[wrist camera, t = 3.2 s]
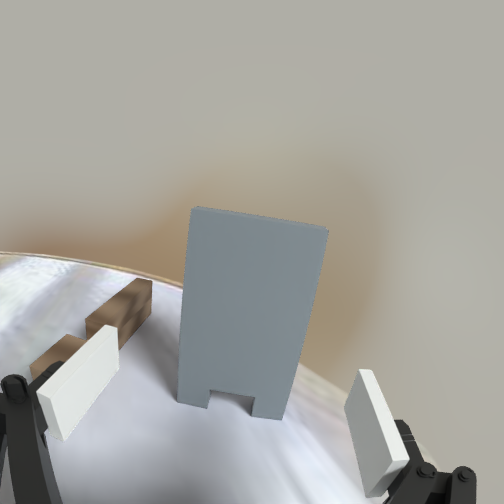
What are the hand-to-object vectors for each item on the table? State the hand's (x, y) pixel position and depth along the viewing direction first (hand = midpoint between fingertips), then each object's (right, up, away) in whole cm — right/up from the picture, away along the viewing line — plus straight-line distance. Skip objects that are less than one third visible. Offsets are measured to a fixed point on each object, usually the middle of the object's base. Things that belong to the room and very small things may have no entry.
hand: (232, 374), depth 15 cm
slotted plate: (-1, -8, +12) cm, 15 cm away
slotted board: (-16, -5, +16) cm, 23 cm away
